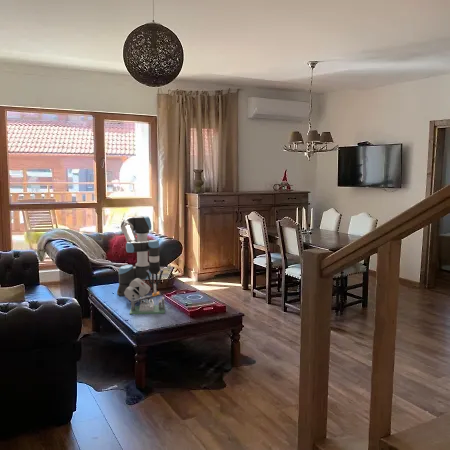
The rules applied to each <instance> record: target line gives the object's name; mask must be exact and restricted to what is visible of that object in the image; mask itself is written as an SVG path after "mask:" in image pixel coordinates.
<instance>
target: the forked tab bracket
mask: <svg viewBox="0 0 450 450" xmlns="http://www.w3.org/2000/svg"><path fill="white" fill-rule="evenodd" d="M133 299H135V298H132V300H131V303H130V307H131V308H130V309H131V311H134V310H135V306H136V304H135V302H134V300H133Z"/></svg>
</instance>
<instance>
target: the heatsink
mask: <svg viewBox="0 0 450 450" xmlns="http://www.w3.org/2000/svg"><path fill="white" fill-rule="evenodd" d="M150 299H152V302H150ZM150 299H149V301H148V299H145V300H143V301H144V302H143V303H142V300H141V302H139V303H140V304H139V306H140V312H148V311H154V305H155V302H154V299H153V298H150ZM145 302H146V303H145Z"/></svg>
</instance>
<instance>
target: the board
mask: <svg viewBox="0 0 450 450" xmlns="http://www.w3.org/2000/svg"><path fill="white" fill-rule="evenodd" d="M165 309H166V304H164V310H159V304H158V305H157V304H154V311H148V312H140V305H135V310H134V311H131V308H130V310H129V315H131V314H135V315H158V314H165V311H166V310H165Z"/></svg>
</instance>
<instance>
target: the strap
mask: <svg viewBox="0 0 450 450" xmlns="http://www.w3.org/2000/svg"><path fill="white" fill-rule="evenodd" d="M160 295H161V292H160V290H159V291H156V293H154V292H152V294H149V295H148V294H147V295H146V296H145V297H140V298H137V299H133V300H134V302H137V303H138V302H139V301H141V300H143V301H144V300H145V301H146V300H147V299H149V298H150V299H153V298H157V297H160Z"/></svg>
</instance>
